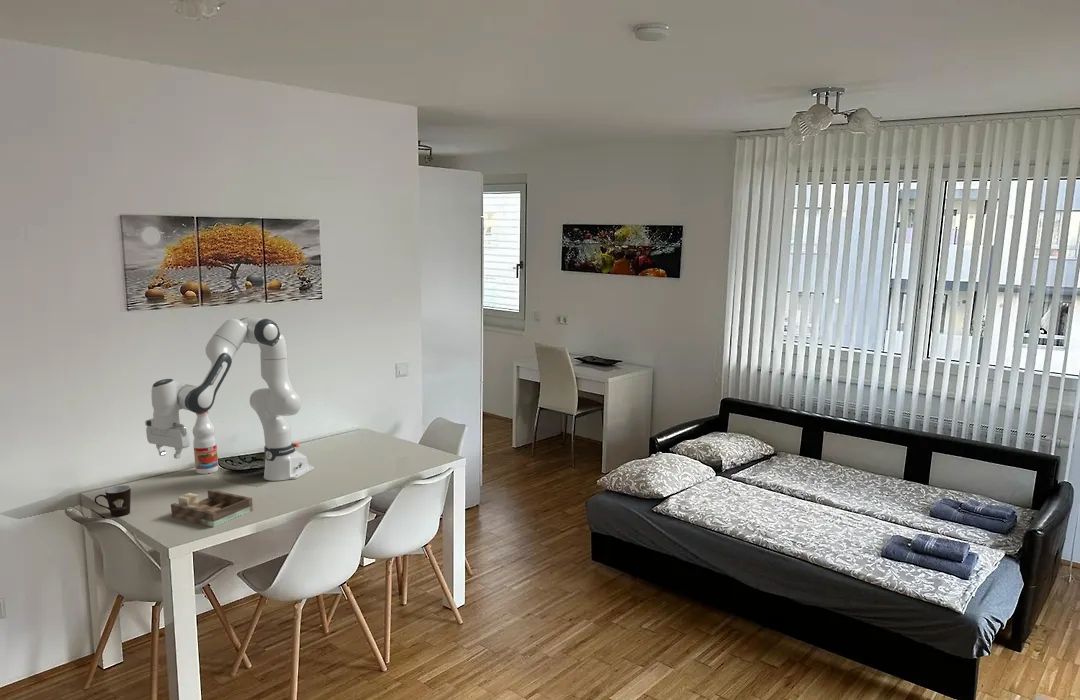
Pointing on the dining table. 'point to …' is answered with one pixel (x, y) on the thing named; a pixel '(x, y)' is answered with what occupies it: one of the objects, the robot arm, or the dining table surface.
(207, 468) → the fruit juice
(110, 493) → the coffee mug
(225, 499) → the box
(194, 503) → the birch block
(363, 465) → the dining table surface
